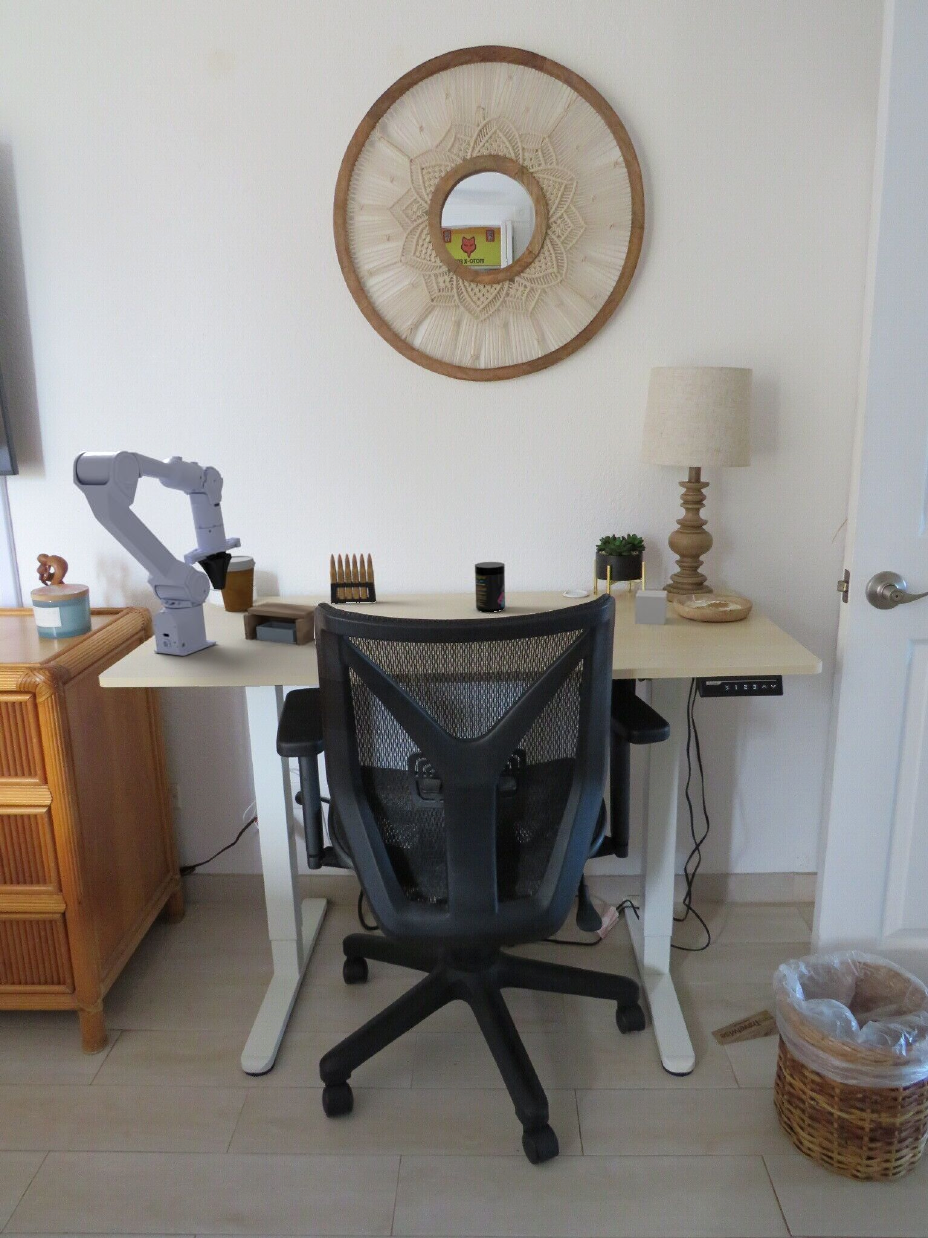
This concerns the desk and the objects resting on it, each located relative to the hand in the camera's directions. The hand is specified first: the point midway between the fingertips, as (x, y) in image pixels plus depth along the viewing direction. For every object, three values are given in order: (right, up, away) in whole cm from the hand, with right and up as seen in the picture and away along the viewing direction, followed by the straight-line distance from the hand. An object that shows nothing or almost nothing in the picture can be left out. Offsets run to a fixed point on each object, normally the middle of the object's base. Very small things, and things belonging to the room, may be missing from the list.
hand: (219, 588), depth 180 cm
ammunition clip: (+25, -3, +26) cm, 36 cm away
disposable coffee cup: (-2, -4, +23) cm, 24 cm away
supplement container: (+57, -4, +15) cm, 59 cm away
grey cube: (+91, -7, +2) cm, 91 cm away
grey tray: (+14, -11, -3) cm, 18 cm away
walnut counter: (+14, -10, -2) cm, 18 cm away
